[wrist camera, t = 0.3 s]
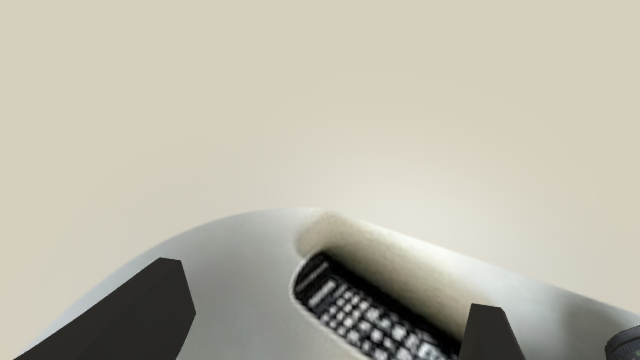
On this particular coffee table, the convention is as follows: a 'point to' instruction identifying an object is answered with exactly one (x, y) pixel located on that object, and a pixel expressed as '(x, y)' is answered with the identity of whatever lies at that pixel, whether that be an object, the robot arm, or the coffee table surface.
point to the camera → (624, 345)
